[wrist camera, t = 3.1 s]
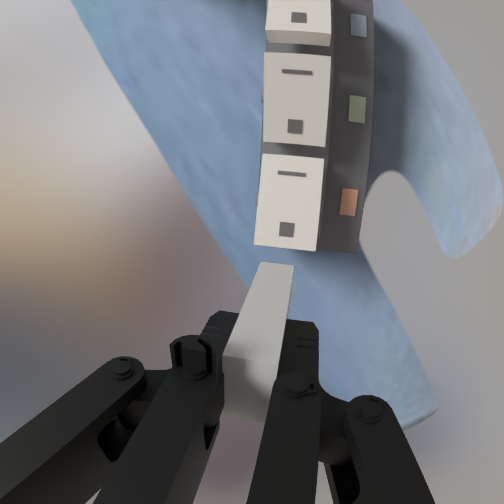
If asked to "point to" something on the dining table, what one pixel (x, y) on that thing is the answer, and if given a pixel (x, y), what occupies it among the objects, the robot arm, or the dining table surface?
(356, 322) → the dining table surface
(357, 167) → the rocker switch panel
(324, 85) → the rocker
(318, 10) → the rocker
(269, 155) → the rocker
